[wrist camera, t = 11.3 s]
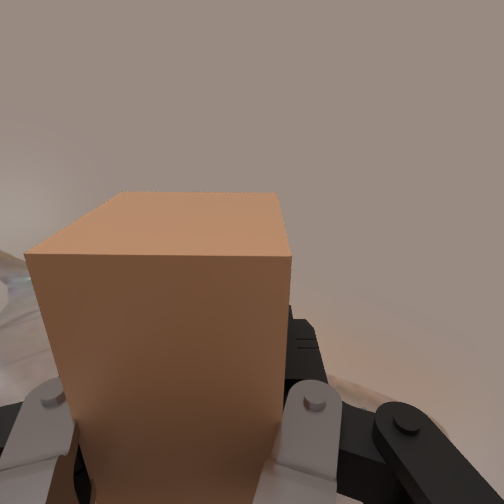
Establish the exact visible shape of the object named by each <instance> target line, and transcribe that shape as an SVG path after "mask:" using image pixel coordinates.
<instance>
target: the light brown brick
mask: <svg viewBox="0 0 504 504" xmlns="http://www.w3.org/2000/svg"><path fill="white" fill-rule="evenodd" d="M24 256H25V260H26V263H27V267H28V270H29V274H30V277H31V281H32V284H33V287H34V291H35V294H36V298H37V301H38V304H39V308H40V311H41V315H42V318H43V322H44V325H45V328H46V332H47V335H48V339H49V342H50V346H51V349H52V352H53V356H54V359H55V363H56V366H57V370H58V373H59V376H60V380H61V383H62V387H63V390H64V394H65V397H66V400H67V404H68V407H69V411H70V414H71V418H72V419H76V420H77V424H78V427H79V431H80V439H79V445H80V448H81V452H82V455H83V459H84V462H85V465H86V469H87V472H88V476H89V479H93V480H94V483H95V487H96V490H97V493H96V503H97V504H252V503H253V500H254V496H255V493H256V489H257V486H258V483H259V479H260V476H261V472H262V469H263V466H264V463H265V461H266V459H267V458H270V457H271V454H272V450H273V447H274V443H275V440H276V436H277V432H278V429H279V425H280V422H282V414H283V397H284V380H285V363H286V346H287V329H288V312H289V295H290V279H291V262H292V255H291V251H290V247H289V243H288V239H287V234H286V230H285V226H284V222H283V217H282V213H281V209H280V205H279V201H278V196H277V193H227V192H225V193H224V192H214V193H213V192H121V193H120V194H118V195H116V196H115V197H113V198H111V199H110V200H108V201H107V202H105V203H103V204H102V205H100V206H99V207H97V208H96V209H94V210H92V211H91V212H89V213H88V214H86V215H84V216H83V217H81V218H80V219H78V220H76V221H75V222H73V223H72V224H70V225H68V226H67V227H65V228H64V229H62V230H60V231H59V232H57V233H56V234H54V235H53V236H51V237H49V238H48V239H46V240H45V241H43V242H42V243H40V244H38V245H37V246H35V247H33V248H32V249H30V250H29V251H27V252H26V253H24Z"/></svg>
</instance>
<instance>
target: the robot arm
mask: <svg viewBox="0 0 504 504" xmlns="http://www.w3.org/2000/svg"><path fill="white" fill-rule="evenodd" d="M79 439H80V431H79V427H78V424H77V420H76V419H72V418H71V414H70V411H69V407H68V404H67V400H66V397H65V394H64V390H63V387H62V383H61V380H60V376H59V377H57V378H53V379H50V380H48V381H46V382H44V383H42V384H40V385H39V386H37V387H36V388H34V389H33V390H32V391H31V392H30V393H29V394H28V395H27V396H26V398H25V400H24V401H23V402H19V403H16V404H11V405H7V406H2V407H0V504H95V501H96V493H97V490H96V487H95V483H94V480H93V479H89V476H88V472H87V469H86V465H85V462H84V459H83V455H82V452H81V448H80V445H79ZM336 492H337V493H339V494H342V495H345V496H347V497H350V498H353V499H355V500H358V501H361V502H363V504H504V500H503V499H502V498H501V497H500V496H499V495H498V494H497V492H496V491H495V490H494V489H493V488H492V487H491V486H490V485H489V484H488V482H487V481H486V480H485V479H484V478H483V477H482V476H481V475H480V474H479V473H478V471H477V470H476V469H475V468H474V467H473V466H472V465H471V464H470V463H469V461H468V460H467V459H466V458H465V457H464V456H463V455H462V454H461V453H460V452H459V450H458V449H457V448H456V447H455V446H454V445H453V444H452V443H451V442H450V440H449V439H448V438H447V437H446V436H445V435H444V434H443V433H442V432H441V430H440V429H439V428H438V427H437V426H436V425H435V424H434V423H433V422H432V421H431V419H430V418H429V417H428V416H427V415H426V414H424V413H423V412H422V411H420V410H419V409H417V408H416V407H414V406H412V405H409V404H406V403H402V402H387V403H384V404H382V405H381V406H380V407H379V408H378V409H377V411H376V413H374V412H370V411H367V410H363V409H360V408H356V407H353V406H351V405H349V404H346V403H345V402H343V401H342V400H341V397H340V395H339V394H338V392H337V391H336V390H335V389H334V388H333V387H331V386H330V385H329V384H328V381H327V377H326V373H325V369H324V366H323V362H322V358H321V354H320V351H319V346H318V342H317V339H316V335H315V331H314V328H313V327H312V326H311V325H310V324H309V322H307V320H306V319H293V317H292V310H291V305H289V312H288V329H287V346H286V363H285V380H284V397H283V414H282V422H280V425H279V429H278V432H277V436H276V440H275V443H274V447H273V450H272V454H271V457H270V458H267V459H266V461H265V463H264V466H263V469H262V472H261V476H260V479H259V483H258V486H257V489H256V493H255V496H254V500H253V503H252V504H335V503H336Z"/></svg>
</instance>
